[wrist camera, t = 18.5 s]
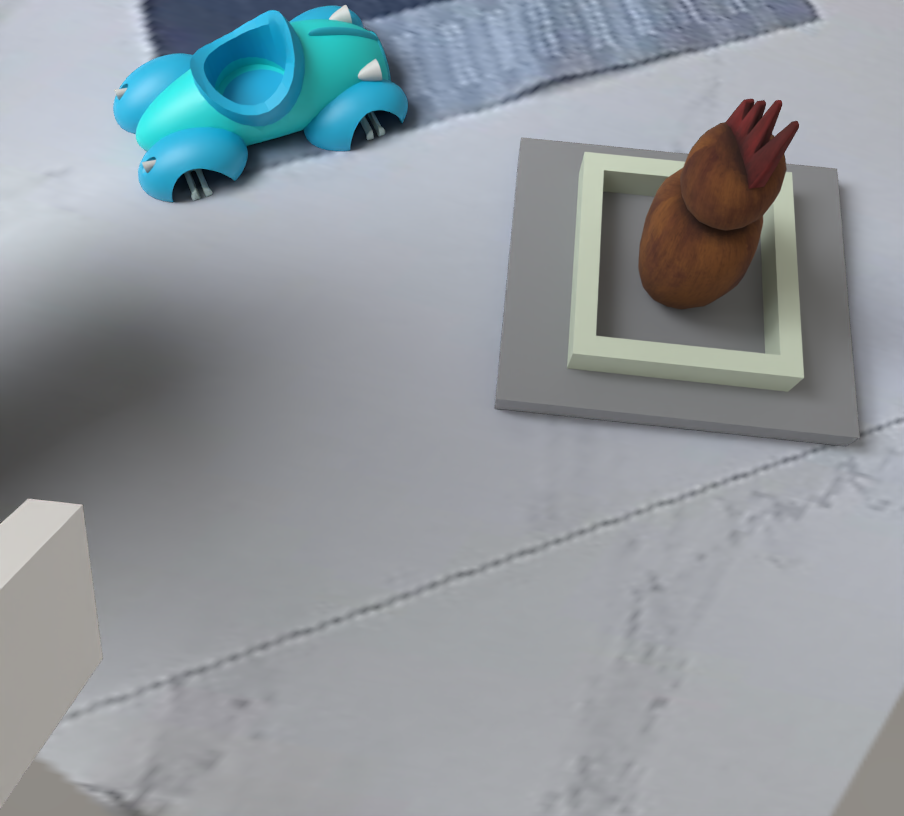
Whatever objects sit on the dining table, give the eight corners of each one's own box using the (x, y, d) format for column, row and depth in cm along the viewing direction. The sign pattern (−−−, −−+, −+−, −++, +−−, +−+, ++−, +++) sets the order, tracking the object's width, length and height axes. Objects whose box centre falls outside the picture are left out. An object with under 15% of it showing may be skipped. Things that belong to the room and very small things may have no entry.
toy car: (417, 131, 51) (414, 53, 45) (155, 223, 48) (113, 152, 42) (357, 19, 54) (347, -69, 48) (109, 98, 52) (64, 16, 45)
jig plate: (494, 408, 44) (498, 385, 40) (518, 153, 50) (524, 115, 47) (846, 446, 43) (879, 425, 40) (825, 183, 50) (853, 147, 46)
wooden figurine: (719, 335, 44) (851, 166, 30) (619, 316, 44) (703, 140, 30) (729, 237, 46) (855, 37, 32) (634, 219, 47) (718, 14, 33)
